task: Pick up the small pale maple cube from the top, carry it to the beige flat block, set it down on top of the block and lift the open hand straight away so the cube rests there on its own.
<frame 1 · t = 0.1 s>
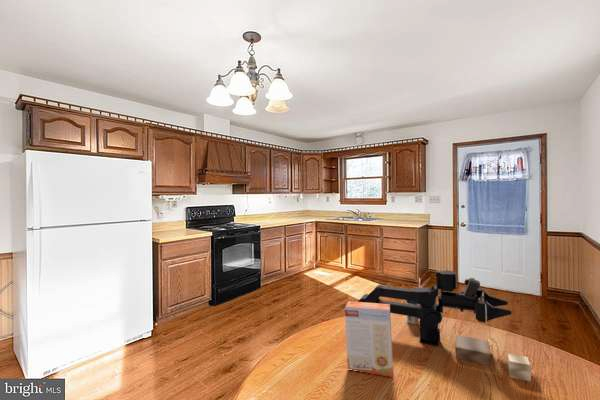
hand: (509, 307, 97), 17 cm above the table, tool horizontal, fingers open, 9 cm apart
cracker box: (370, 369, 93), on the table
maple cube: (518, 375, 87), on the table
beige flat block: (472, 355, 99), on the table
white capped bottle: (412, 322, 126), on the table
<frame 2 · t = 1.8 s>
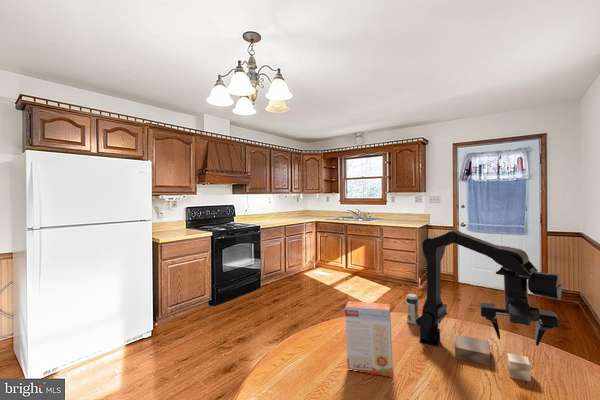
hand: (517, 342, 87), 10 cm above the table, tool pointing down, fingers open, 9 cm apart
nothing on the table moved.
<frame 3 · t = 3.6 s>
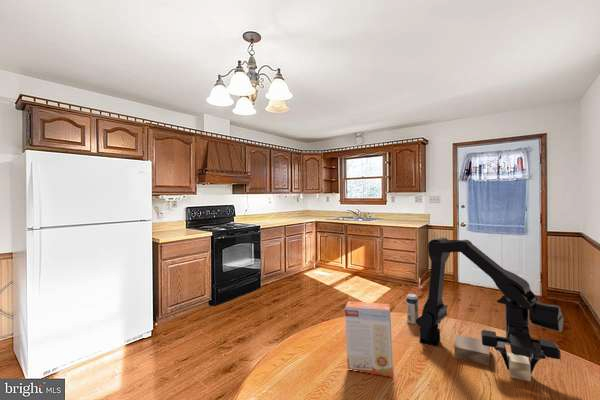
hand: (518, 371, 87), 1 cm above the table, tool pointing down, fingers closed on maple cube, 5 cm apart
maple cube: (518, 374, 87), on the table, touching gripper
everything else where it was.
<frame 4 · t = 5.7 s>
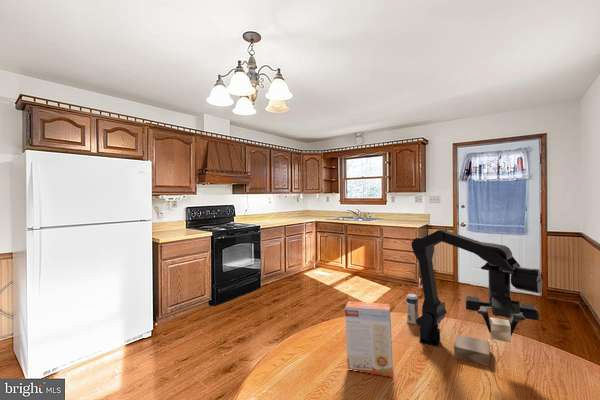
hand: (499, 333, 92), 11 cm above the table, tool pointing down, fingers closed on maple cube, 5 cm apart
maple cube: (500, 337, 92), point 10 cm above the table, touching gripper
everything else where it was.
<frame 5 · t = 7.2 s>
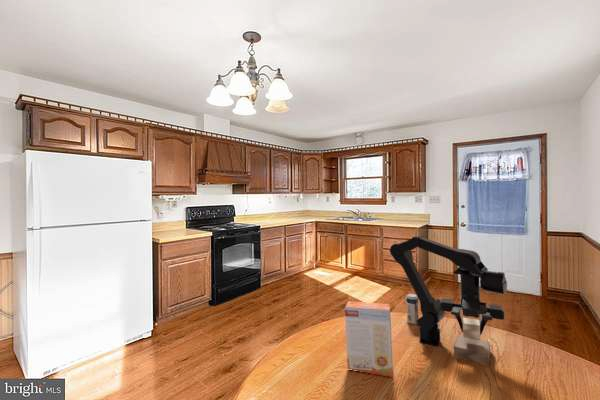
hand: (471, 332, 99), 7 cm above the table, tool pointing down, fingers closed on maple cube, 5 cm apart
maple cube: (471, 335, 99), point 6 cm above the table, touching gripper
everything else where it was.
when the fingers open (6 cm above the table, at t = 8.2 s): maple cube drops 2 cm, resting on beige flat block.
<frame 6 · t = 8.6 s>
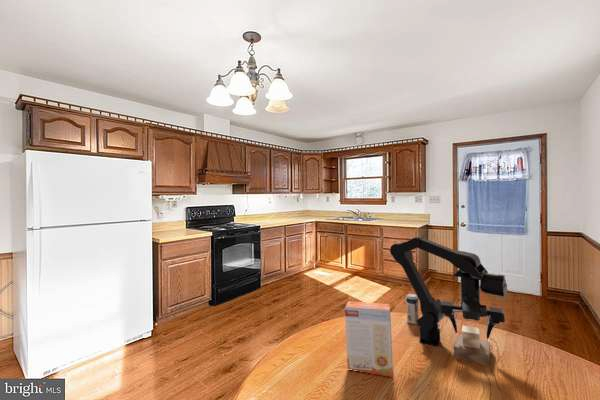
hand: (471, 335, 99), 6 cm above the table, tool pointing down, fingers open, 9 cm apart
maple cube: (471, 344, 99), point 4 cm above the table, touching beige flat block
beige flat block: (472, 355, 99), on the table, touching maple cube
everything else where it was.
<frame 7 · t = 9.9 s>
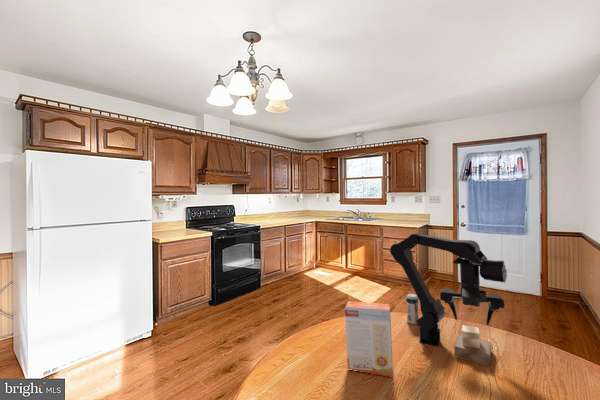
hand: (471, 322, 99), 11 cm above the table, tool pointing down, fingers open, 9 cm apart
nothing on the table moved.
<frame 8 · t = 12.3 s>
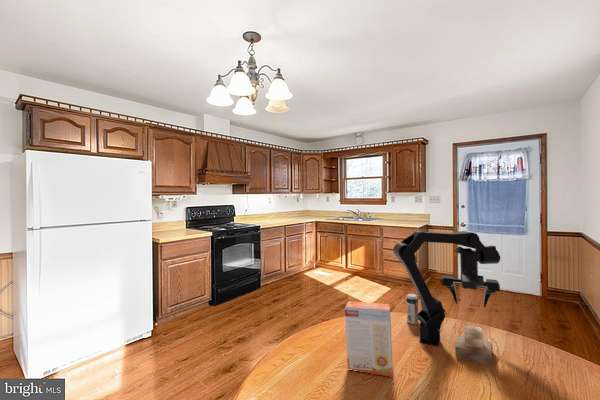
hand: (470, 305, 110), 13 cm above the table, tool pointing down, fingers open, 9 cm apart
at the end: maple cube inside the target area on the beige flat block (0.2 cm from its centre), point 4.0 cm above the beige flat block's base; maple cube tilted 0°; the gripper is holding nothing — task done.
